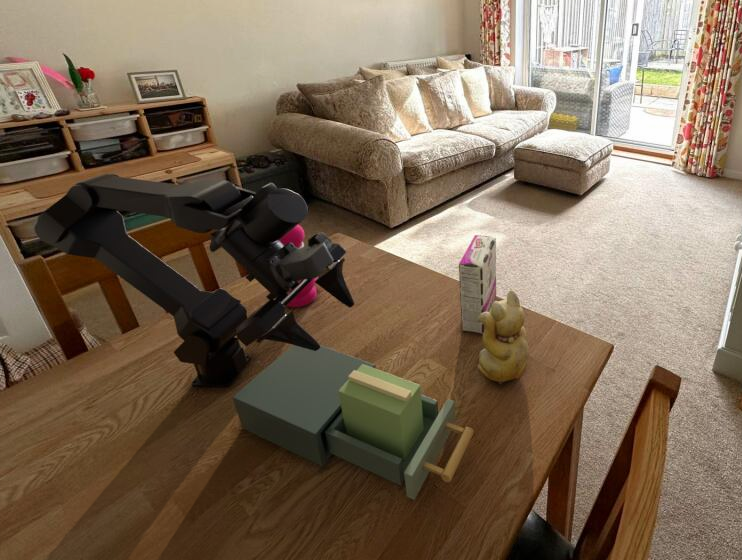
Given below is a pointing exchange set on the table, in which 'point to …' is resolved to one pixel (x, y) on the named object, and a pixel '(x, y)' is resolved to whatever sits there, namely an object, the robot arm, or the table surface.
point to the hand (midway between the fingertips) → (336, 326)
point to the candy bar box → (477, 281)
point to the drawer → (419, 456)
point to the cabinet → (297, 399)
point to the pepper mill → (309, 291)
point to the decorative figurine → (504, 340)
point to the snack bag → (382, 410)
